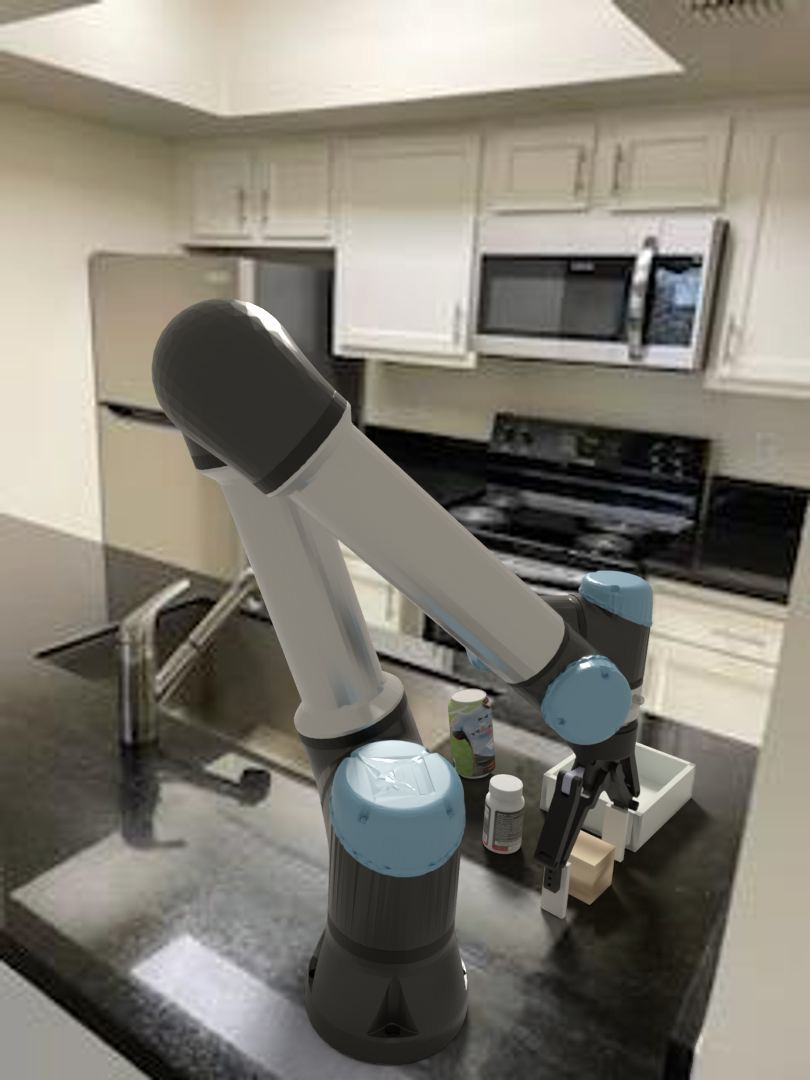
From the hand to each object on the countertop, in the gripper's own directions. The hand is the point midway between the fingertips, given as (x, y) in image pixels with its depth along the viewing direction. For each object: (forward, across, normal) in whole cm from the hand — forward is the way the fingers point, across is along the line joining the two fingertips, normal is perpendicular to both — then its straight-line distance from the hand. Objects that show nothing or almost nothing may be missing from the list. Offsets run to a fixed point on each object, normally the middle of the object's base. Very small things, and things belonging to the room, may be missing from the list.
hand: (583, 883), depth 96 cm
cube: (0, 0, 0) cm, 0 cm away
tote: (0, +19, +5) cm, 19 cm away
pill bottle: (0, 0, +11) cm, 11 cm away
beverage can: (0, +11, +24) cm, 26 cm away
